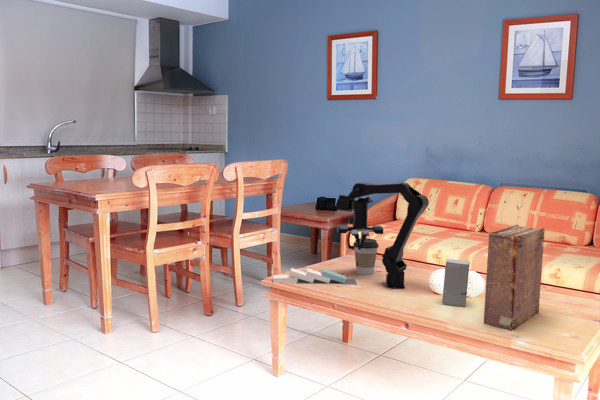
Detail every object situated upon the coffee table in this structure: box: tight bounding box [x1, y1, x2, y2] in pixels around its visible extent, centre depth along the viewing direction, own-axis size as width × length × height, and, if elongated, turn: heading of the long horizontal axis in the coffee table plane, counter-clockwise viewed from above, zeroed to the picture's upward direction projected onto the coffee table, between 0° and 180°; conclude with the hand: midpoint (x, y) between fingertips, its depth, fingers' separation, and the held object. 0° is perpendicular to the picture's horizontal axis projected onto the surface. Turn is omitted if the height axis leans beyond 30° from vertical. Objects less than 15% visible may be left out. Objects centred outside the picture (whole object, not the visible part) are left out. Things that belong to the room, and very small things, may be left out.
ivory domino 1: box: [289, 267, 314, 283], centre depth 217 cm, size 2×5×10 cm
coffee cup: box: [352, 237, 379, 276], centre depth 232 cm, size 11×11×15 cm
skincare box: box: [441, 258, 471, 308], centre depth 191 cm, size 8×7×16 cm
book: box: [483, 224, 545, 331], centre depth 176 cm, size 25×9×30 cm, turn 138°
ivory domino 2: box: [305, 268, 330, 283], centre depth 217 cm, size 2×5×10 cm
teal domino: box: [320, 268, 347, 285], centre depth 217 cm, size 2×5×10 cm
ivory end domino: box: [272, 274, 298, 284], centre depth 217 cm, size 2×5×10 cm
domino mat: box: [295, 278, 358, 286], centre depth 218 cm, size 25×8×1 cm, turn 90°
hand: (359, 249), depth 221 cm, fingers closed
